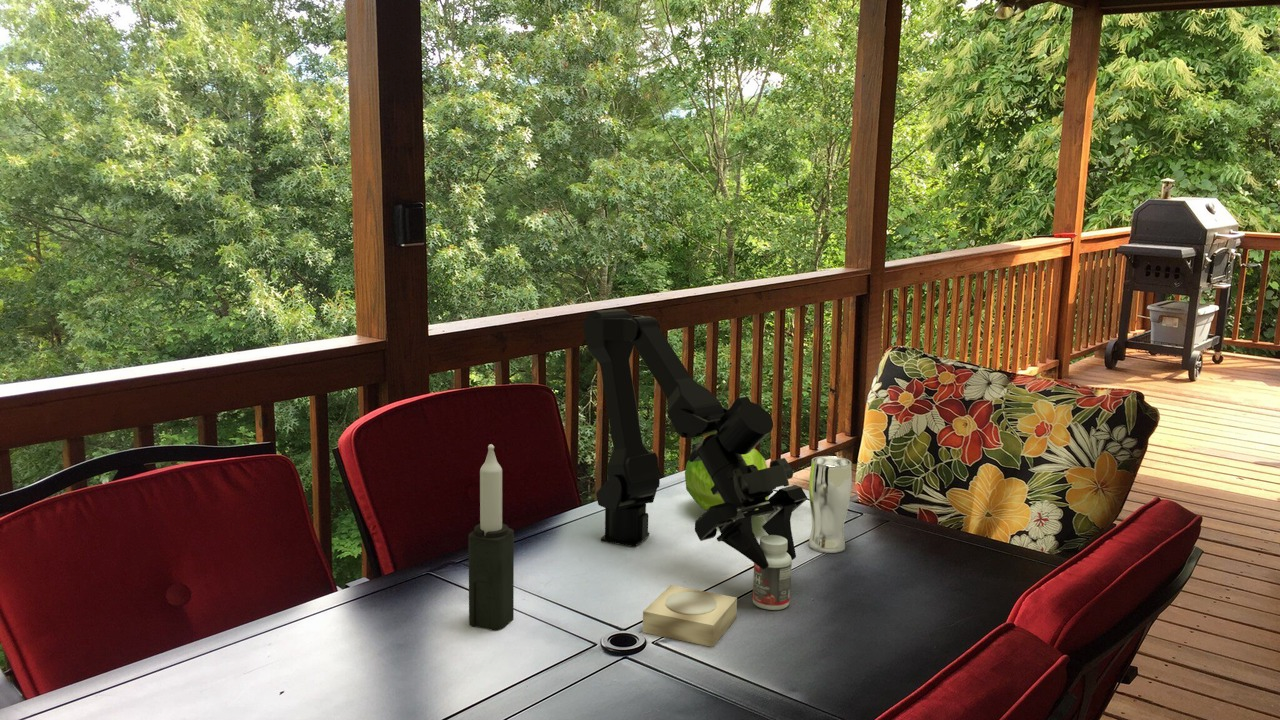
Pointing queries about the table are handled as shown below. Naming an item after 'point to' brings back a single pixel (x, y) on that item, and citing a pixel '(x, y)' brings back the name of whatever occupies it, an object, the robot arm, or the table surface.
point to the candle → (491, 555)
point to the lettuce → (702, 482)
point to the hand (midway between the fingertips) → (780, 563)
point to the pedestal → (690, 615)
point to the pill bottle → (773, 575)
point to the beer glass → (829, 502)
